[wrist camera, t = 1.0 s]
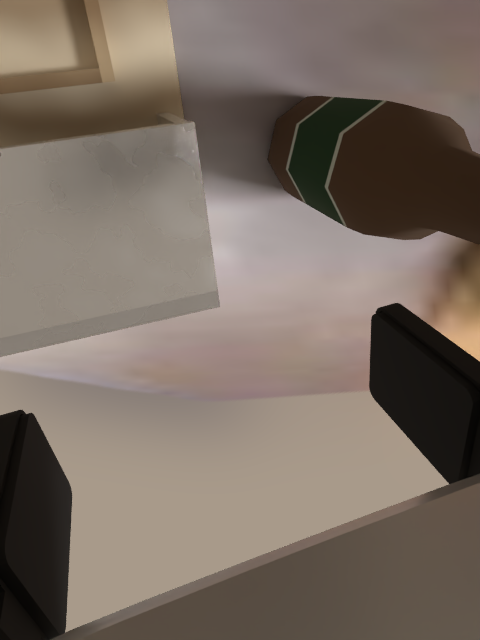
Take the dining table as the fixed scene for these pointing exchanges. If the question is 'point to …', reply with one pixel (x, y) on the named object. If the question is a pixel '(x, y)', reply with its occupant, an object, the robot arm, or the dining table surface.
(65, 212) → the cover
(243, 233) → the dining table surface
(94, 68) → the housing base
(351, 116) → the beer bottle
